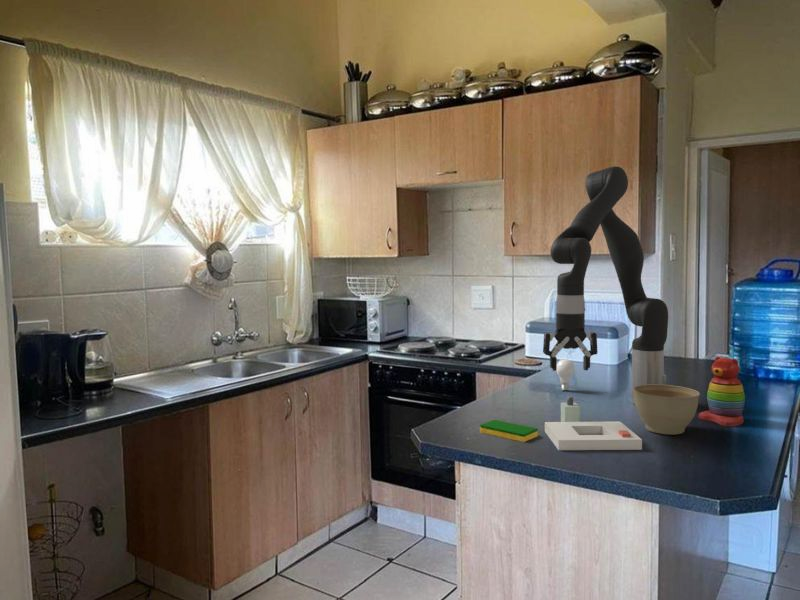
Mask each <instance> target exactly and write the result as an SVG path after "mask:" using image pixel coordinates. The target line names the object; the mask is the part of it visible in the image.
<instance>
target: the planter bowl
mask: <svg viewBox="0 0 800 600" xmlns="http://www.w3.org/2000/svg"><path fill="white" fill-rule="evenodd" d="M633 392H634V400H635V404H634V405H635V408H636V411H637V413H638V415H639V417H640V419H641V420H642V421H643V423H644V426H645V429H646V430H648V431H650V432H652V433H656V434H662V435H671V436H673V435H680V434H683V433H685V430H686V427H687V426H688V425H689V424H690V423H691V422H692V420H693V418H695V415H696V413H697V409H698V405H699V398H700V392H699V391H698V390H696V389H693V388H689V387H684V386H680V385H679V386H678V385H671V384H666V385H659V384H647V385H639V386H636V387H634V388H633Z"/></svg>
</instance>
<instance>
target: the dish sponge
mask: <svg viewBox="0 0 800 600" xmlns="http://www.w3.org/2000/svg"><path fill="white" fill-rule="evenodd" d="M538 430H539V429H538V428H537V427H533V426H532V427H531V426H526V425H522V424H517V423H512V422H506V421H502V420H498V419H492V420H490V421H487V422H484V423H482V424H479V433H481V434H485V435H489V436H490V435H491V436H496V437H500V438H505V439H509V440H513V441H517V442H524V443H525V442H528V441H529V440H530V441H531V440H532V439H535V438H537V437H539V436H538V435H539V431H538Z"/></svg>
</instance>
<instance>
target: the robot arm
mask: <svg viewBox="0 0 800 600" xmlns="http://www.w3.org/2000/svg"><path fill="white" fill-rule="evenodd" d="M628 186H629V179H628V175H627V173H626V171H625V170H624V169H623V168H622V167H621V166H616V165H615V166H611V167H606V168H603V169H600V170H596V171H594V172H591V173H588V174H587V175H586V177H585V191H586V193H587V195H588V198H589V202H588V203H587V204H585V206H583V207H582V208H581V209H580V210H579V211H578V212H577V214H576V215H575V216H574V219H572V222H571V224H570V226H568V227H567V228H566V229H565V230H564V231H562V232H561V233H560V234H559V235H558V236H557V237H556V238H554V240H553V242H552V243H551V246H550V251H549V252H550V257H551V259H552V260H553V262H555V263H556V264H559V265H572V269H571V270H570V271H568V272H567V271H566V272H563V273H560V274H559V275H557V279H556V284H557V285H556V286H557V287H556V291H557V292H556V295H557V296H556V302H555V332H554V333H553V332H552V333H550V332H544V333H543V344H542V345H543V347H542V353H543V354H545V356H549V366H550V368H551V370H552V371H553V372H556V370H557V363H558V362H557V355H558V354H559V353H560V352H561V350H562V349H565V350H568V349H573V350H576V349H580V351H581V352H582V354H583V355H584V356H583V359H582V363H583V364H582V365H583V368H582V369H583V370H584V371H589V369H590V368H591V357H592V356H594V355H596V356H597V354H598V337H597V333H596V332H594V331H590V332H585V331H586V330H585V327H586V325H585V322H586V321H585V320H586V318H585V317H586V316H585V312H586V302H585V295H584V294H585V278H586V273H587V270H588V267H589V263H590V259H591V255H592V246H591V241H592V240H593V239H594V236H595V234H596V233H597V231H598V229H599V227H601V230H602V232H603V233H602V234H603V236H604V239H605V242H606V245H607V249H608V251H609V254H610V259H611V262H612V264H613V266H614V269H615V273H616V275H617V278H618V279H617V280H618V282H619V286H620V289H621V293H622V297H623V298H622V299H623V302H624V307H625V311H626V315H627V318H628V319H629V321H630V323H631V324H633V325H634V326H637V327H641V334H640V336H638V337H636V338H634V339H633V340H632V341H631V348H632V349H631V403H632V404H633V405H635V400H634V392H633V388H634V387H636V386H639V385H647V384H659V385H667V375H666V374H665V373H664V371H665V370H664V369H665V368H664V367H665V366H664V362H665V361H664V359H665V357H664V355H665V344H666V342H667V338H668V328H669V327H668V326H669V309H668V306H667V304H666V302H664V300H662V299H660V298H654V297H647V295H646V293H645V290H644V286H643V283H642V273H643V267H644V261H645V257H644V251H643V247H642V245H641V241H640V239H639V236H638V234H637V233H636V231H634V230H633V228H631V226H629V225H628V224H627V223H626V222H625V221H623V220H622V219H621V218H620V217H619V216H618V215H617V214H616V213H615V211H614V210H613V208H614V206H616V204H617V203H618V202H619V201H621V199H622V198H623V196H624V195H625V194H626V193H627V190H628ZM553 338H554V339H555V340H556V341H557V342H556V343H555V345H553V347H552V349H551V350H550V348H551V346H550V345H551V342H552V341H553V340H554V339H553ZM586 338H587V340H588V341H589V348H590V350H588V348H587V347H586V345H585V344H584V341H585V340H586Z"/></svg>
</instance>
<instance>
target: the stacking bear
mask: <svg viewBox="0 0 800 600" xmlns="http://www.w3.org/2000/svg"><path fill="white" fill-rule="evenodd" d="M714 360H715V361H714V362H713V363H712V365H711V369H710V370H711V373H712V375H713V376H714V377H712V378H711V381H710V382H709V384H708V389H707V393H706V401H707V404H708V409H709V410H705V411H701V412H699V413H698V419H699V420H701V421H707V422H712V423H716V424H718V425H720V426H723V427H728V428H729V427H731V428H732V427H737V426H740V425H742V424H744V417H743V411H744V406H745V403H746V400H745V399H746V395H745V392H744V386H743V384H742V382H741V381H740V379H738V375H739V373H740V366H739V361H738V359H736V358H729V357H720V356H716V358H715V359H714Z"/></svg>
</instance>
